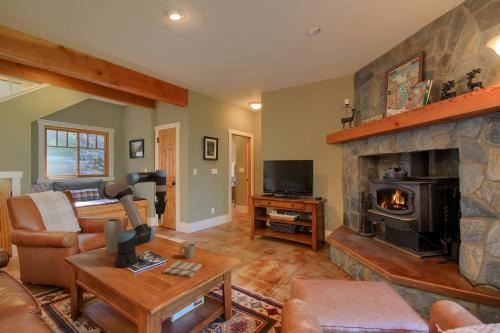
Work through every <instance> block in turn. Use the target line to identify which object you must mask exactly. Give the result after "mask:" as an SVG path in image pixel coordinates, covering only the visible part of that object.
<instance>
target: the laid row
mask: <svg viewBox="0 0 500 333" xmlns="http://www.w3.org/2000/svg"><path fill="white" fill-rule="evenodd" d="M162 273H163V275H169V276H176V277H181V278H182V277H183V278H189V279H191V278H192V277H193V276H194V275H195V274H196V273H195V272H193V271H187V270H180V269H173V268H169V267H167V268H166V269H164V270H163V272H162Z"/></svg>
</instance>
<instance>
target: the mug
mask: <svg viewBox="0 0 500 333" xmlns="http://www.w3.org/2000/svg"><path fill="white" fill-rule="evenodd" d="M195 248H196V245H195V244H194V243H186V244H184V245H183V246H180V248H179V254H180V255H182V256H184V258H185V259H186V260H192V259H193V258H194V254H195V250H196V249H195ZM182 249H183V252H184V253H183V252H182Z"/></svg>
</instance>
